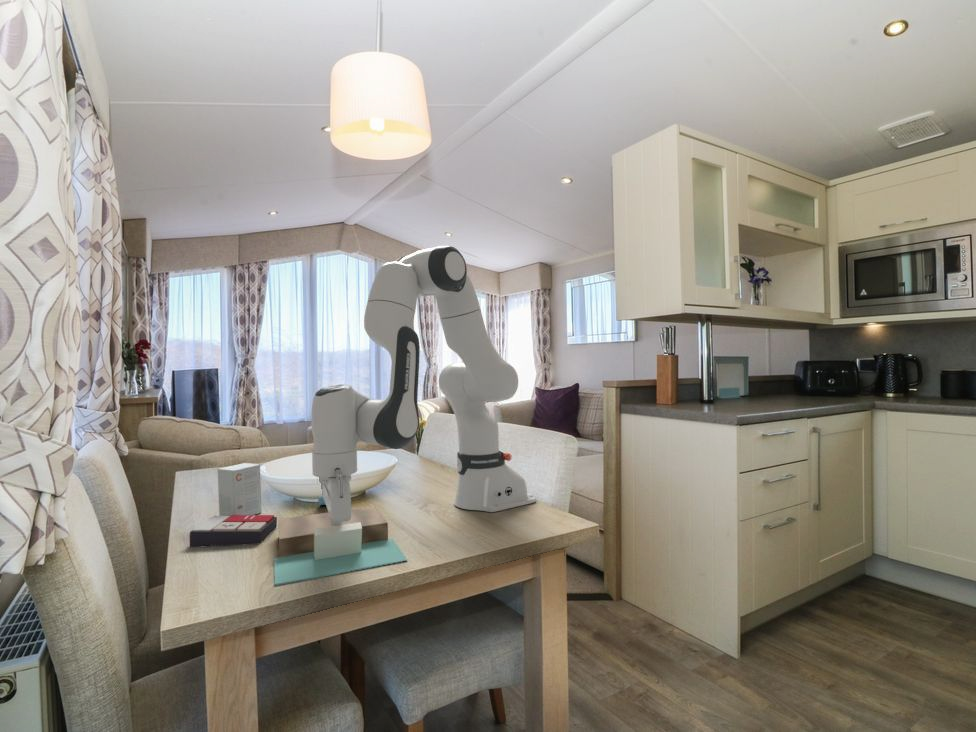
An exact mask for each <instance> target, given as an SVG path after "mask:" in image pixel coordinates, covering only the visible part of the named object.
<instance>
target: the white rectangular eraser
mask: <svg viewBox="0 0 976 732" xmlns="http://www.w3.org/2000/svg"><path fill="white" fill-rule="evenodd" d="M361 542H362V526H361V522H358V523H351V524H344V525H337V526H331V527H324V528H317V529H314V557H315V560H319V559H325V558H331V557H336V556H342V555H348V554H354V553H360V552H361Z"/></svg>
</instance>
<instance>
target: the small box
mask: <svg viewBox="0 0 976 732" xmlns="http://www.w3.org/2000/svg"><path fill="white" fill-rule="evenodd" d="M261 483H262V482H261V465H260V464H258V463H249V462H243V463H239V464H234V465H229V466H225V467H220V468H217V485H218V487H217V488H218V490H217V493H218V513H219V515H218V516H232V515H260V514H262V487H261V486H262V485H261Z"/></svg>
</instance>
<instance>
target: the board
mask: <svg viewBox="0 0 976 732" xmlns="http://www.w3.org/2000/svg"><path fill="white" fill-rule="evenodd" d="M277 521H278V547H279V550H278V551H279V557H284V556H290V555H296V554H302V553H308V552H314V529H317V528H324V527H331V518H330V515H329V512H320V513H315V514H306V515H301V516H294V517H287V518H277ZM358 522H361V526H362V542H361V544H363V543H369V542H375V541H381V540H387V539H389V525H388V524H389V523H388V520H387V519H386V518H385V517H384V515H383V514H382V513H381V512H380V510H379V508H378V507H377V506H376V505H375V506H373V505H372V506H367V507H366V506H365V507H360V508H351V520H350V521H345V522H342V525H344V524H351V523H358Z"/></svg>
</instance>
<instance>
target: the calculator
mask: <svg viewBox="0 0 976 732" xmlns="http://www.w3.org/2000/svg"><path fill="white" fill-rule="evenodd" d="M277 523H278V518H277V516H275V515H274V514H256V515H232V516H219V515H213V516H212V517H210V518H208V519H207V520H206V521H204V522H202V523H200V525H198V526H197V527H195V528H193V529H192V530H191V531H190V532H189V548H202V547H201V546H206V547H211V546H239V545H241V546H244V545H243V544H246V545H259V544H258V543H260V544H262V543H263V541H264V539H265V538H266V537H267V536H268V535H269V534H270V533H271V532H272V531H273V530H274V529H275V528H276V527H278V525H277ZM276 529H277V528H276ZM276 529H275V530H276ZM275 530H274V531H275ZM272 533H273V532H272ZM272 533H271V534H272ZM271 534H270V535H271ZM270 535H269V536H270ZM269 536H268V537H269ZM268 537H267V538H268ZM265 540H266V539H265Z"/></svg>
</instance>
